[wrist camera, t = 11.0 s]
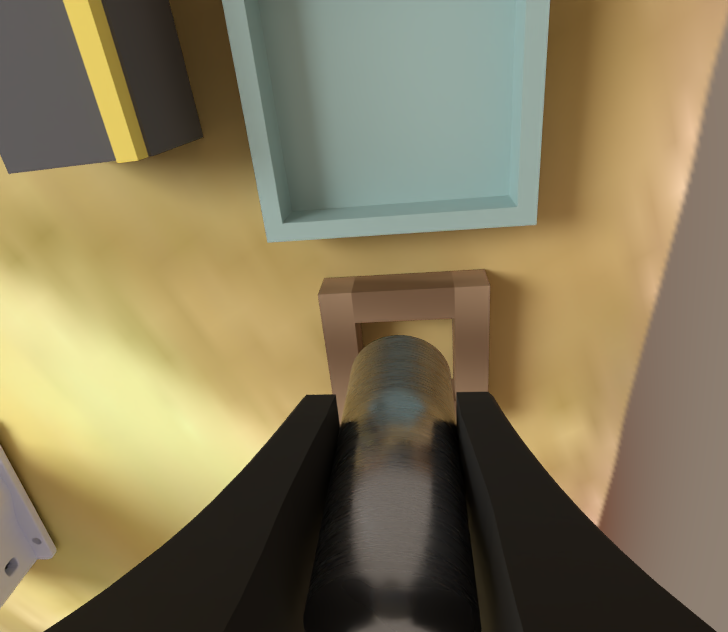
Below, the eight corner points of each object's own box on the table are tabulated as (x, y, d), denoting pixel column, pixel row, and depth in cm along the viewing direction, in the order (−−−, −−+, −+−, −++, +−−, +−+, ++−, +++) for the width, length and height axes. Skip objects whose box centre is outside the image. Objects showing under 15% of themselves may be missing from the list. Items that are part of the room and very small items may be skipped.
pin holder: (482, 401, 21) (487, 424, 20) (342, 405, 22) (337, 427, 21) (484, 269, 18) (490, 285, 17) (324, 278, 19) (317, 294, 18)
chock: (205, 136, 17) (141, 159, 13) (88, 151, 18) (-7, 178, 14) (140, -122, 14) (31, -195, 10) (1, -95, 15) (-155, -153, 11)
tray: (523, 207, 17) (536, 224, 16) (281, 224, 18) (267, 242, 17) (538, -108, 13) (558, -133, 12) (231, -64, 14) (206, -82, 13)
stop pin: (450, 417, 12) (480, 684, 7) (355, 418, 13) (314, 676, 7) (450, 333, 11) (484, 575, 6) (345, 337, 12) (290, 570, 6)
